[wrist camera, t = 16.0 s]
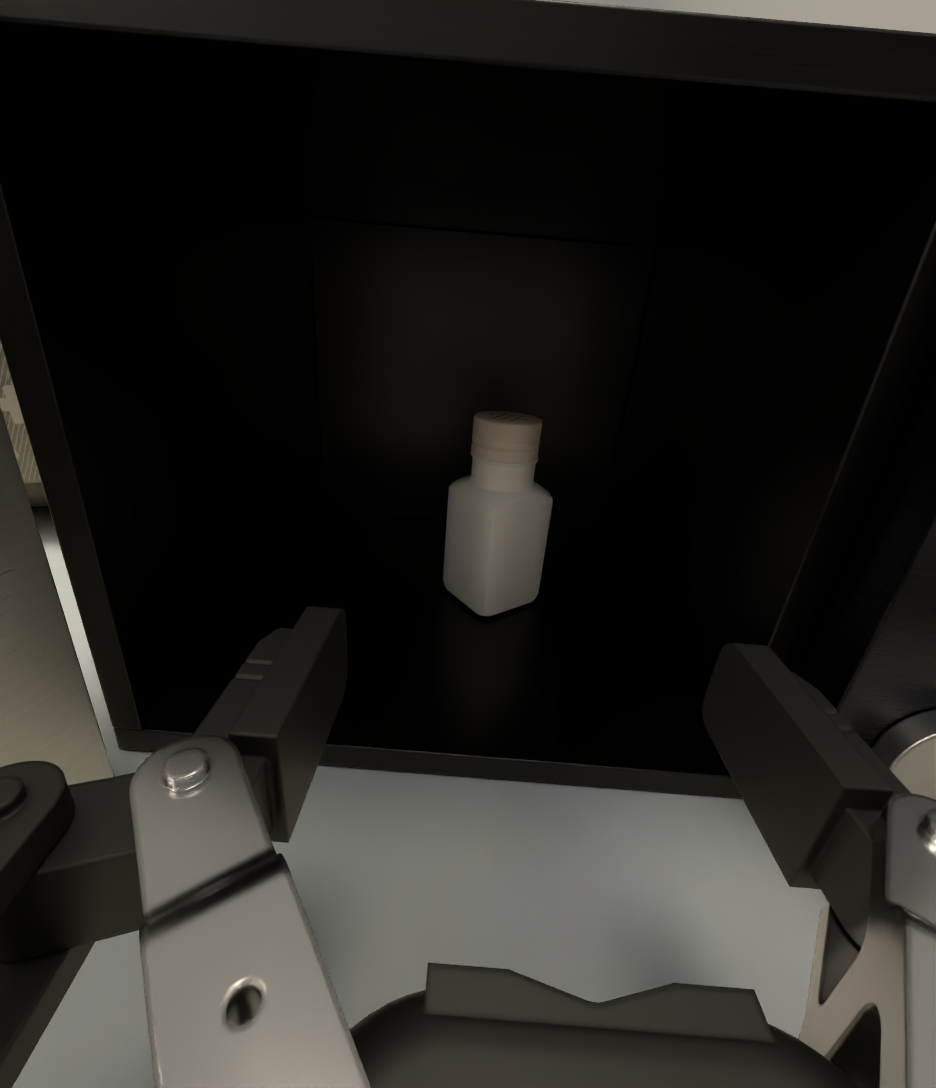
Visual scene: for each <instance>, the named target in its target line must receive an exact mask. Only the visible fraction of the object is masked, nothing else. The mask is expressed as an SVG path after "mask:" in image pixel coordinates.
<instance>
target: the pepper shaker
mask: <svg viewBox="0 0 936 1088" xmlns="http://www.w3.org/2000/svg"><path fill="white" fill-rule="evenodd" d="M541 428H542V419H540V418H537V417H535V416H532V415H527V414H523V413H517V412H507V411H484V412H478V413H476V415H475V416H474V421H473V434H472V445H471V456H472V457H473V459H472V471H471V475H468V476H465V477H462V478H460V479H457V480H456V481H454V482H453V483H452V484H451V485H450V486H449V491H448V506H447V522H446V537H445V553H444V568H443V582H444V585H445V587H446V589H447V590H448V591H449V592H451V593H452V594H453V595H454V596H455V597H457V598H458V599H459V600H460V601H462V602H463V603H464V604H465V605H467V606H468V607H469V608H470V609H472V610H473V611H474V612H475V613H477V614H478V615H481V616H492V615H495V614H498V613H501V612H504V611H507V610H510V609H513V608H516V607H519V606H522V605H524V604H527V603H530V602H532V601H533V600H534V599H535V598H536V597H537V595H538V593H539V586H540V580H541V574H542V567H543V561H544V555H545V548H546V542H547V535H548V529H549V523H550V516H551V510H552V504H553V499H552V497H551V495H550V493H549V492H548V491H547V490H546V489H544V488H543V487H542V486H540V485H539V484H538V483H536V482H534V481H533V479H534V472H535V465H536V463H537V461H538V450H539V443H540V436H541Z"/></svg>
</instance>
